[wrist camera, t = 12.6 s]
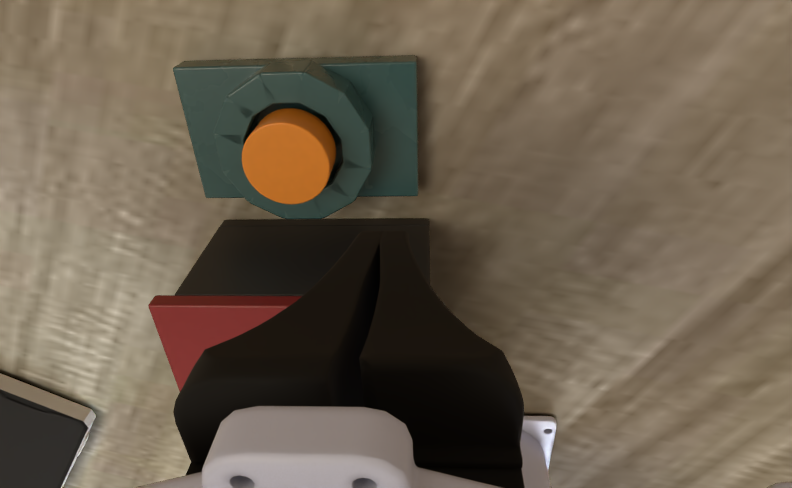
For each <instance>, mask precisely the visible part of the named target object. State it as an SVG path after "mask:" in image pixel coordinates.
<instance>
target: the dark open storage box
mask: <svg viewBox="0 0 792 488" xmlns="http://www.w3.org/2000/svg"><path fill="white" fill-rule="evenodd" d="M361 231H406V232H407V233H408V234H409V242H410V246H411V249H412V252H413V254H414V257H415V259H416V261H417V263H418V265H419V267H420V269H421V271H422V273H423V275H424V277H425V278H426V280H427V281H428V283H429V285H430V245H429V219H325V220H224V221H223V223H222V224H221V226H220V227H219V228H218V230H217V231H216V233H215V234H214V236H213V237H212V239H211V241H210V242H209V244H208V245H207V247H206V248H205V250H204V251H203V253H202V254H201V256H200V257H199V259H198V260H197V262H196V263H195V265H194V266H193V268H192V269H191V271H190V272H189V274H188V275H187V277H186V278H185V280H184V281H183V283H182V284H181V286H180V287H179V289H178V290H177V292H176V293H175V296H303V295H304V294H306V293H307V292H308V291H309V290H310V289H311V288H312V287H313V286H314V285H316V283H317V282H318V281H319V280H320V279H321V278H322V277H323V276H324V275H325V274H326V273H327V272H328V271H329V270H330V269H331V268H332V267H333V266H334V264H335V263H336V262H337V261H338V260H339V259H340V257H341V256H342V255H343V254H344V253H345V251H346V250H347V249H348V247H349V246H350V245H351V243H352V242H353V241H354V239H355V238H356V237H357V235H358V234H359V233H360V232H361Z"/></svg>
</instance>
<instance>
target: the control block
mask: <svg viewBox="0 0 792 488" xmlns="http://www.w3.org/2000/svg"><path fill="white" fill-rule="evenodd" d="M173 71H174V75H175V79H176V83H177V87H178V91H179V95H180V99H181V102H182V106H183V110H184V114H185V118H186V122H187V126H188V130H189V134H190V138H191V141H192V145H193V149H194V153H195V157H196V161H197V165H198V169H199V173H200V177H201V180H202V184H203V188H204V192H205V196H206V198H245V199H246V200H247V201H249V202H250V203H251V204H253V205H255V206H258V207H260V208H262V209H264V210H266V211H268V212H271V213H273V214H275V215H277V216H279V217H281V218H285V219H322V218H325V217H327V216H328V215H330V214H332V213H334V212H336V211H338V210H339V209H341V208H343V207H345V206H347V205H348V204H350V203H352V202H353V201H355V200H356V198H357V197H363V196H418V189H419V175H418V94H417V56H415V55H410V56H370V57H330V58H290V59H250V60H210V61H184V62H182V63H180V64H179V65H177V66H175V67H174V68H173ZM284 108H296V109H301V110H304V111H307V112H309V113H311V114H313V115H315V116H316V117H318V118H319V119H320V120H321V121H322V122H323V123H324V124H325V125H326V126H327V127H328V129H329V130H330V132H331V134H332V136H333V138H334V141H335V145H336V159H335V163H334V166H333V169H332V171H331V174H330V177H329V179H328V182H327V184H326V186H325V188H324V189H323V190H322V192H321V193H320V194H319V195H317V196H316V197H315V198H313V199H311V200H309V201H307V202H304V203H300V204H283V203H279V202H275V201H273V200H270V199H268V198H267V197H265V196H263V195H262V194H260V193H259V192H258V191H257V190H256V189H255V188H254V187H253V186H252V185H251V183H250V182H249V180H248V179H247V177H246V175H245V172H244V169H243V166H242V149H243V146H244V143H245V141H246V139H247V138H248V137H249V135H250V134H251V133H252V131H253V130H254V129H255V128H256V126H257V125H258V124H259V123H260V121H261V120H262V119H263V118H264V117H265V116H267V115H268V114H270V113H271V112H273V111H276V110H279V109H284Z"/></svg>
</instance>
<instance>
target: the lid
mask: <svg viewBox="0 0 792 488" xmlns="http://www.w3.org/2000/svg"><path fill="white" fill-rule="evenodd" d="M301 297H302V296H162V295H157V296H155V297H154V298H153V300H152V301H151V302H150V304H149V309H150V312H151V314H152V317H153V320H154V323H155V325H156V328H157V331H158V333H159V336H160V339H161V342H162V344H163V347H164V350H165V352H166V355H167V358H168V361H169V363H170V366H171V369H172V371H173V374H174V377H175V380H176V382H177V385H178V388H179V391H181V390H182V388H183V386H184V384H185V382H186V380H187V378H188V376H189V374H190V372H191V370H192V369H193V367H194V365H195V364H196V362H197V361H198V359H199V358H200V356H201V355H202V353H203V351H204V350H205V349H207V348H210V347H212V346H215V345H217V344H220V343H222V342H224V341H227V340H229V339H232V338H234V337H236V336H238V335H241V334H243V333H245V332H247V331H249V330H251V329H253V328H255V327H256V326H258V325H260V324H262V323H264V322H265V321H267V320H269V319H270V318H272V317H274V316H275V315H277V314H278V313H280V312H281V311H283V310H284V309H286V308H287V307H289V306H290V305H292V304H293V303H294V302H296V301H297V300H298V299H299V298H301Z"/></svg>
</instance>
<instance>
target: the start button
mask: <svg viewBox="0 0 792 488" xmlns="http://www.w3.org/2000/svg"><path fill="white" fill-rule="evenodd" d="M335 159H336V145H335V141H334V138H333V136H332V134H331V132H330V130H329V129H328V127H327V126H326V125H325V124H324V123H323V122H322V121H321V120H320V119H319V118H318V117H316V116H315V115H313V114H311V113H309V112H307V111H304V110H301V109H296V108H284V109H279V110H276V111H273V112H271V113H270V114H268V115H267V116H265V117H264V118H263V119H262V120H261V121H260V123H259V124H258V125H257V126H256V128H255V129H254V130H253V131H252V133H251V134H250V135H249V137H248V138H247V139H246V141H245V143H244V146H243V149H242V166H243V169H244V172H245V175H246V177H247V179H248V180H249V182H250V183H251V185H252V186H253V187H254V188H255V189H256V190H257V191H258V192H259V193H260V194H262V195H263V196H265V197H267V198H268V199H270V200H273V201H275V202H279V203H283V204H300V203H304V202H307V201H309V200H311V199H313V198H315V197H316V196H317V195H319V194H320V193H321V192H322V190H323V189H324V188H325V186H326V184H327V182H328V179H329V177H330V174H331V171H332V169H333V166H334V163H335Z"/></svg>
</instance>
